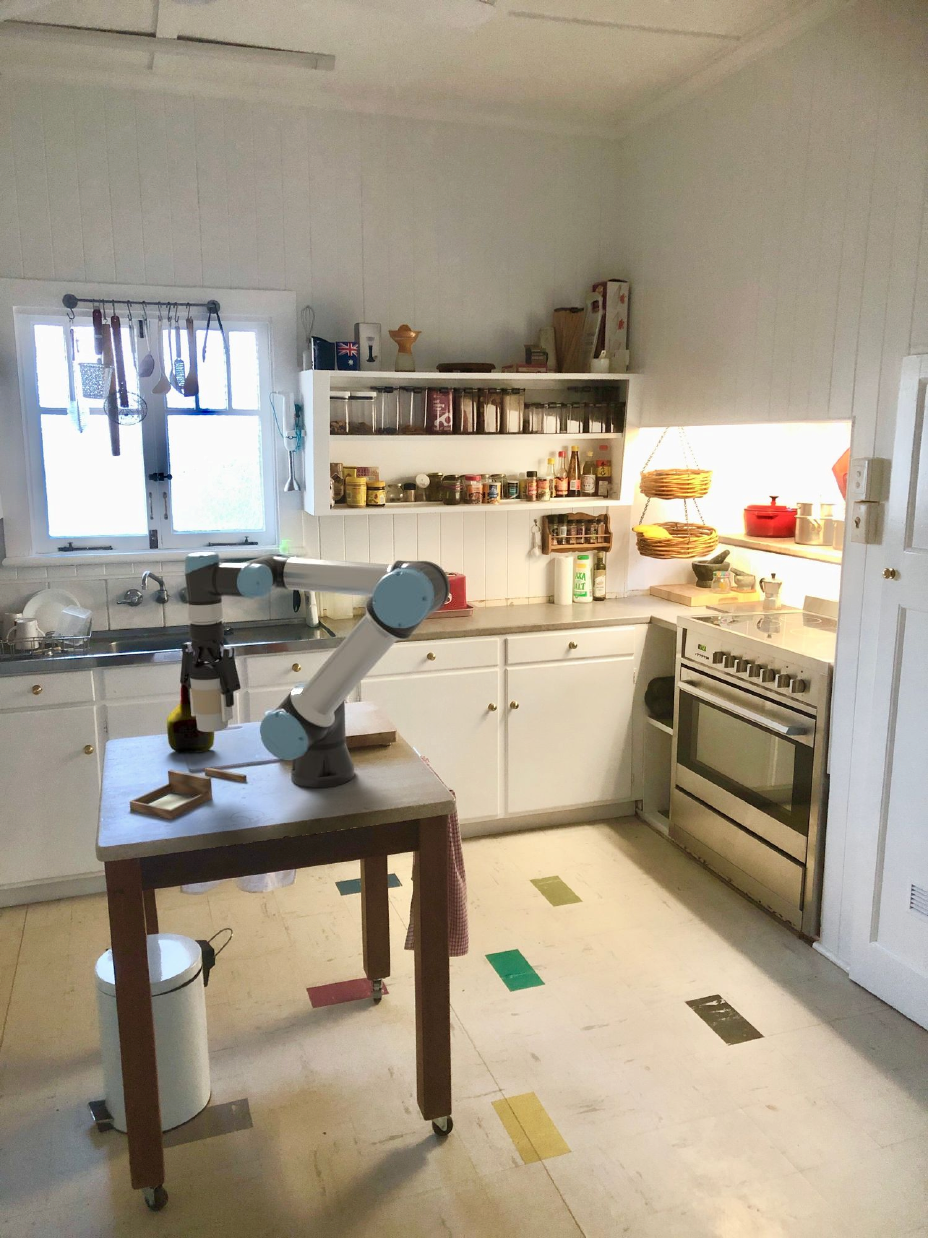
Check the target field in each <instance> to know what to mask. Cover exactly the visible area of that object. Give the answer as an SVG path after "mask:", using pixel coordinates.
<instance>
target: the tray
mask: <svg viewBox="0 0 928 1238" xmlns="http://www.w3.org/2000/svg"><path fill="white" fill-rule="evenodd" d="M167 775H168V776H167V777H168V783H167V784H165V785H162V786H161V787H158V788H155V789H154V790H152V791H148V792H147V793H144V794H143V795H140V796H139V797H136V798H134V799H132V800H130V801H129V809H130V811H133V812H137V813H138V812H139V813H141V814H146V815H147V814H148V815H151V816H155V817H160V818H163V819H169V820H172V819H173V820H174V818H177V817H178V816H180V815H182V814H184V813H187V812H189V811H191V810H193V809H195V808H196V807H199V806H200V805H202V804H205V803H206V802H208V801H210V800H212V799H213V787H212V778H211V777H209V776H206V775H199V774H194V773H190V772H185V771H180V770H174V769H169V770H167ZM173 793H174V794H173ZM177 794H180V795H177ZM165 795H166V796H165ZM182 795H185V796H182ZM186 796H189V797H186ZM191 797H192V798H191ZM148 803H149V804H148Z"/></svg>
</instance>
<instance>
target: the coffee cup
mask: <svg viewBox="0 0 928 1238" xmlns="http://www.w3.org/2000/svg"><path fill="white" fill-rule="evenodd" d="M189 678H190V681H191V692H192V699H193V705H194V711H195V714H196V721H197V728H198V730H199V731H203V732H214V733H215V732H219V731H223V730H225V729H227V728H228V727H229V722H228V721H229V720H228V721H226V722H223V721H222V708H221V693H222V692H223V690H222V687H221V685H220V676H219V674H218V673H217V671H216V669H215V668H213V667H212V666H211V665H210V663H209V662H205V663H204V665H201V666H198V667H196V665H195V664H194V667H193V670H191V671H190V675H189ZM227 688H228V686H227Z"/></svg>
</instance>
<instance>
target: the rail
mask: <svg viewBox="0 0 928 1238" xmlns="http://www.w3.org/2000/svg"><path fill="white" fill-rule="evenodd" d="M204 776H212V777H216V778H221V779H225V780H231V781H235V782H241V783H246V782H247V774H244V773H243V774H242V773H239V772H232V771H227V770H223V769H217V768H212V767H206V768H204Z"/></svg>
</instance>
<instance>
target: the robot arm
mask: <svg viewBox="0 0 928 1238" xmlns="http://www.w3.org/2000/svg"><path fill="white" fill-rule="evenodd" d="M184 577H185V578H184V579H185V586H186V595H187V597H186V598H187V601H186V602H187V617H188V621H189V624H188V632H189V633H188V634H189V638H190V640H191V641H189V642H184V643H182V644H181V646H180V647H181V648H180V649H181V653H182V656H181V667H180V677H179V678H180V679H179V680H180V681H179V683H180V684H182V685H183V684H184V685H186V687H187V688H188V698H189V701H191V716H196V714H195V711H194V705H193V699H192V692H191V681H190V678H189V675H190V671H191V670H193V667H194V664H195V665H196V667H198V666H201V665H204V663H210V665H211V666H212V667H213V668H215V669H216V671H217V673H218V674H219V676H220V685H221V687H222V690H223V692H222V693H221V708H222V721H223V722H226V721H230V720H233V718H234V715H233V706H234V705H235V699H234V692H236V691H239V690H241V682H240V678H239V673H238V669H237V664H236V660H235V651H236V650H235V648H234V647H233V646H230V647H228V646H227V647H226V646H225V645H224V643H223V637H224V634H225V631H224V629H225V628H224V622H223V621H222V619H223V618H224V617H223V600H222V597H229V598H231V597H232V598H234V597H235V598H245V599H246V598H247V599H256V598H257V599H260V598H262V599H263V598H265V597H268V596H269V594H270V593H269V592H271V591H272V589H277V590H278V589H279V590H293V591H305V592H314V593H315V592H317V593H326V594H327V593H329V594H339V595H349V596H350V595H351V596H362V597H369V598H368V600H367V601H366V603H365V604H364V605H365V608H364V609H365V614H364V615H363V617H362V618H361V619H360V621H359V622H358V623H357V624H356V625H355V626H354V628H353V629H351V631H350V632H349V633H348V634H347V636H346V637H345V638H344V640H343V641H342V642H341V643H340V644H339V645H338V646H337V647H336V648H335V650H334V651H333V652H332V653H331V655H330V656H329V657H328V658H327V659H326V661H324V663H323V664H322V665H321V666H320V668H319V669H318V670H317V671H316V673H314V674H313V676H312V677H311V678H310V679H309V681H308V682H304V683H303V682H302V683H298V684H296V685H295V686H294V688H293V689H291V691H290V692H289V694H287V695H286V697H285V698H284V699H283V701H282V702H281V703H280V704H279V705H278V706H277V707H276V708H275V709H273V710H271V711H269V712H268V713H267V714H266V715H265V716H264V717H263V719H262V720H261V722H260V726H259V734H260V739H261V743H262V744H263V746H264V748H265V750H267V751H268V753H270V754H271V755H272V756H274V757H275V758H277V759H280V760H284V761H292V760H293V761H292V765H291V768H290V780H291V781H292V783H293V784H295V785H297V786H301V787H306V788H315V789H317V788H318V789H319V788H330V787H335V786H340V785H342V784H346V783H348V782H350V781H351V780H353V778H354V777H355V765H354V762H353V761H352V758H351V754H350V752H349V749H348V747H347V740H346V739H347V737H346V734H347V733H346V710H345V709H346V707H345V706H346V705H345V704H346V703H345V701H346V699H347V697H348V696H350V694H351V693H352V692H353V691H354V690H355V688H357V686H358V685H359V684H360V683H361V682H362V680H364V678H365V677H366V676H367V675H368V674H369V672H370V671H371V670H372V669H373V668H374V667H375V666H376V664H377V663H378V662H379V661H380V660H381V659H382V658H383V657H384V655H385V654H386V653H387V652H388V651H389V650H390V648H391V647H392V646H393V645H394V644H395V643H396V642H397V641H406V640H408V639H409V637H411V636H412V634H413V633H415V631H416V630H417V628H419V626H420V625H422V623H423V622H424V621H425V620H426V619H427V618H428V617H429V616H431V615H432V614H434V613H436V612H437V611H439V610H440V609H441V608H442V607H443V606H444V605H445V604H446V602H447V600H448V599H449V596H450V590H451V586H450V585H451V584H450V580H449V577H448V575H447V573H446V572H445V570H444V569H443V568H442V567H441V566H439V564H437V563H434V562H432V561H428V560H400V559H399V560H395V561H394V562H393V563H392V564H389V563H386V564H385V563H378V562H377V563H376V562H362V561H348V560H337V559H336V560H334V559H333V560H332V559H323V558H322V559H319V558H308V557H293V556H290V557H289V556H287V555H286V554H283V553H270V554H267V555H265V556H262V557H257V558H255V559H252V560H251V559H250V560H247V561H243V562H222V561H221V559H220V555H219V554H218V553H217V552H212V551H199V552H192V553H188V554H187V555H186V556H185V559H184ZM227 686H228V688H227Z"/></svg>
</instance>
